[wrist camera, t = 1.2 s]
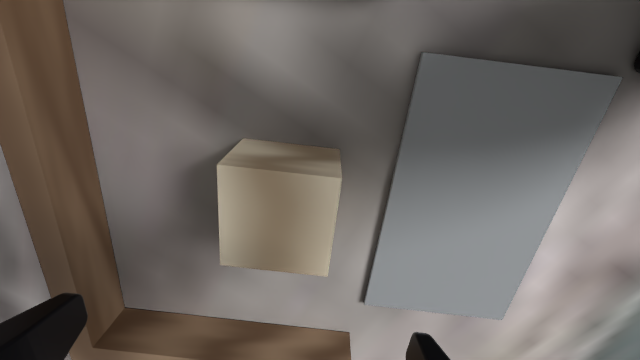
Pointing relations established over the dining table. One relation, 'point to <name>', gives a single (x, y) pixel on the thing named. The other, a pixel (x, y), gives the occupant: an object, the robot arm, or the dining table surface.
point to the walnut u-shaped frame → (100, 212)
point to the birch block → (278, 206)
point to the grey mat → (480, 180)
